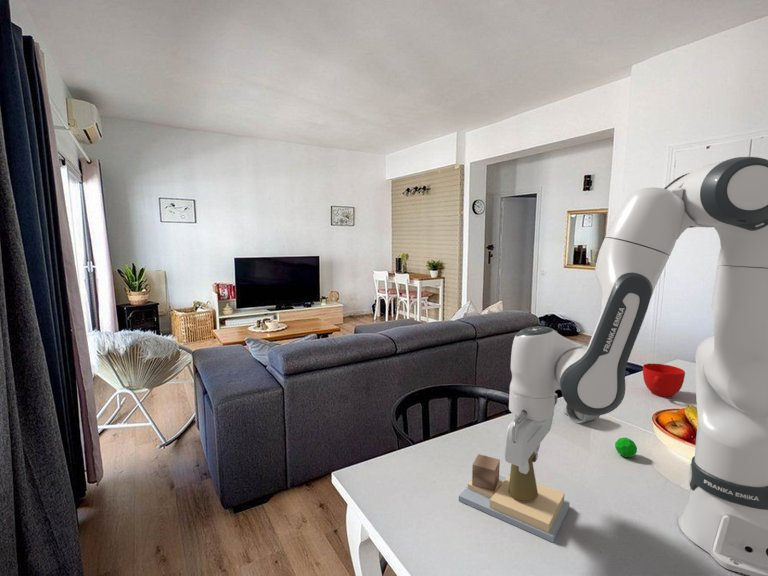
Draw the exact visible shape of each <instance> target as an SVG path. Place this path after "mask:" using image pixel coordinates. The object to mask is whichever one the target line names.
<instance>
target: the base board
mask: <svg viewBox="0 0 768 576" xmlns="http://www.w3.org/2000/svg"><path fill="white" fill-rule="evenodd" d="M509 481H510V473H509V474H508V475H507V477H505V476H503V475H500V474H499V481H498V484H497V486H496V489H495V491H494V492H493V491H490V490H487V489H483V488H480V487H476V486H473V485H472V479H471V480H470V481H469V482H468V483H467V486H466V487H465V488H464V489H463V490H462V492H460V494H459V495H458V501H459V502H460V503H462V504H465V505H467V506H469V507H472V508H473V509H476V510H479V511H481V512H484V513H486V514H488V515H490V516H492V517H494V518H497V519H499V520H501V521H504V522H506V523H508V524H510V525H512V526H515V527H517V528H520V530H521V529H522V530H523V531H526V532H529V533H530V534H533V535H535V536H537V537H539V538H542V539H544V540H547V541H549V542H551V543H554V541H555V540H556V536H557V535H558V532H559V530H560V528H561V526H562V524H563V522H564V519H565V518H566V514H567V512H568V510H569V509H570V501H569V500H568V499H565V493H564V492H562V491H559V490H557V489H555V488H551V487H548V486H546V485H544V484H540V483H537V482H536V486H537V491H538V496H537V498H536V499H534V500H531V501H523V500H519V499H516V498H514V497H512V496H511V495H510V493H509Z"/></svg>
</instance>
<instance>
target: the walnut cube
mask: <svg viewBox="0 0 768 576" xmlns="http://www.w3.org/2000/svg"><path fill="white" fill-rule="evenodd" d="M500 462H501V460H500V459H498V458H496V457H495V458H494V457H492V456H487V455H483V454H480V453H478V454H477V456H476V457H475V460H474V461H473V463H472V470H471V471H472V472H471V475H472V476H471V480H472V485H473V486H476V487H480V488H483V489H487V490H490V491H493V492H494V491H495V489H496V486H497V484H498V481H499V475H500Z"/></svg>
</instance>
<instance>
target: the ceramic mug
mask: <svg viewBox="0 0 768 576" xmlns="http://www.w3.org/2000/svg"><path fill="white" fill-rule="evenodd" d="M563 412H564V413H563V414H567V416H568V418H569V419H570V420H571V421H572V422H573V423H575V424H583V423H588V422H590V421H591V422H592V421H595V420H597V419H599V418H600V417H601V415H598V416H591V415H585V414H582V413H579V412H577V411H575V410H574V409H572V408H571V407H570V406H569V405H568V404H567V403H566V405H565V407H564V408H563Z"/></svg>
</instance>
